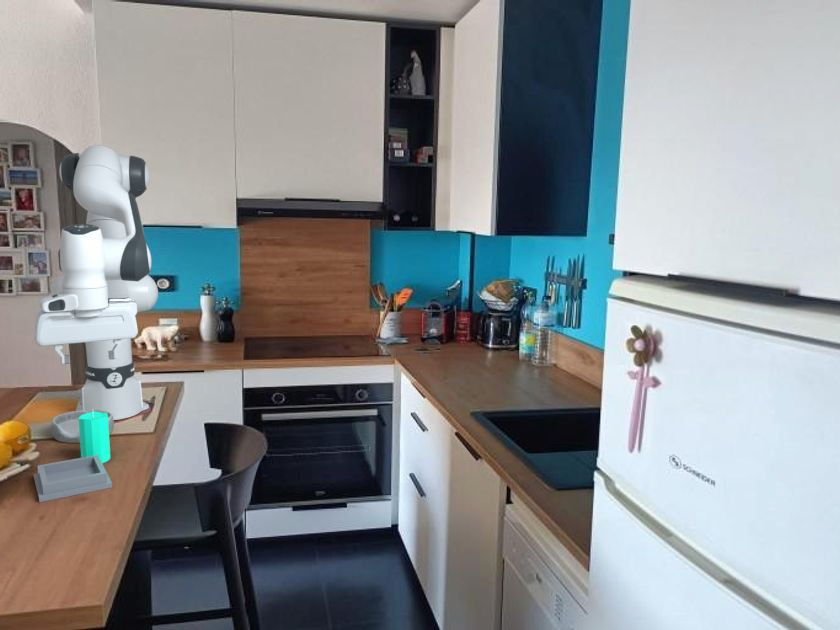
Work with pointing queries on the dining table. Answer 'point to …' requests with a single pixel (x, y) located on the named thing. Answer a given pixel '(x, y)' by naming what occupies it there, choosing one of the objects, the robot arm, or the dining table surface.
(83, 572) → the dining table surface
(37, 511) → the dining table surface
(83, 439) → the candle
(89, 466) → the holder
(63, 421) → the dish
